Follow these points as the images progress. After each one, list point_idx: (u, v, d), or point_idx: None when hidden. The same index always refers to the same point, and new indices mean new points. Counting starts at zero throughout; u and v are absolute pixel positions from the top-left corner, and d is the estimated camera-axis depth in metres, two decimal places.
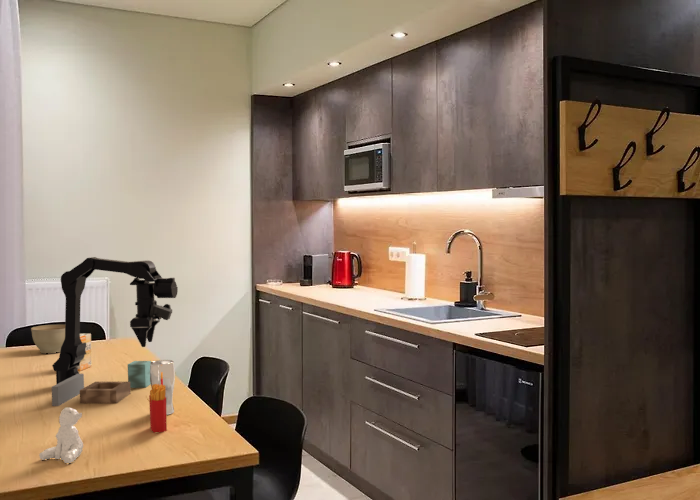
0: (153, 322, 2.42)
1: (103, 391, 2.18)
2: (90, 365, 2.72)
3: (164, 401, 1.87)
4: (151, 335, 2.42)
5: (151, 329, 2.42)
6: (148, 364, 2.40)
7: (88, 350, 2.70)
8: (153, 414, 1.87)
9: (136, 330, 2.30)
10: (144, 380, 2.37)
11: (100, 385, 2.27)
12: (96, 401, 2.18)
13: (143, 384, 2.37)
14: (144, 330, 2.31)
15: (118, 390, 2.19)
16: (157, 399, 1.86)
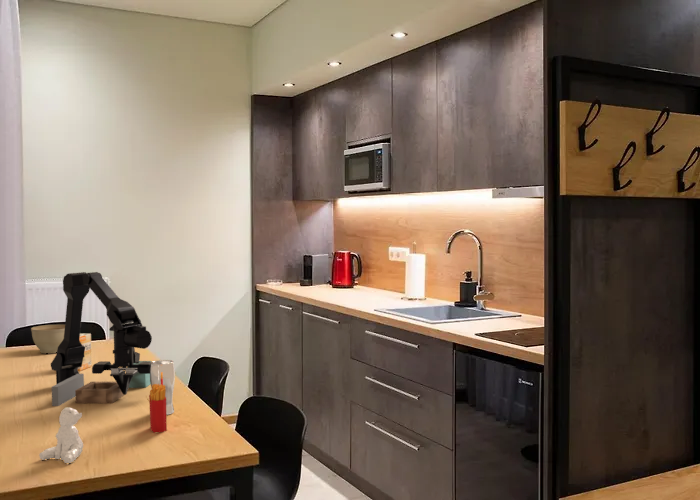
0: (123, 372, 2.24)
1: (99, 391, 2.18)
2: (90, 365, 2.72)
3: (164, 401, 1.87)
4: None
5: None
6: None
7: (88, 350, 2.70)
8: (153, 414, 1.87)
9: (128, 377, 2.21)
10: (144, 380, 2.37)
11: (96, 385, 2.28)
12: (92, 401, 2.18)
13: (143, 384, 2.37)
14: (130, 376, 2.24)
15: (114, 390, 2.19)
16: (157, 399, 1.86)
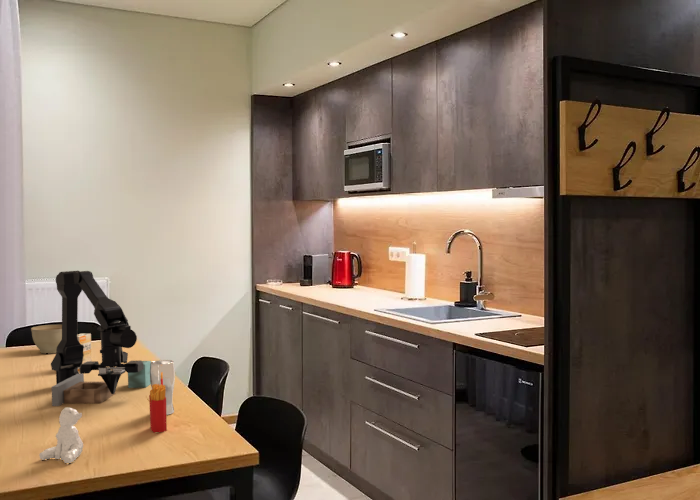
0: (111, 372, 2.24)
1: (87, 391, 2.18)
2: None
3: (164, 401, 1.87)
4: None
5: None
6: (148, 364, 2.40)
7: (88, 350, 2.70)
8: (153, 414, 1.87)
9: (116, 376, 2.21)
10: (144, 380, 2.37)
11: (84, 385, 2.28)
12: (80, 401, 2.18)
13: (143, 384, 2.37)
14: None
15: (102, 390, 2.19)
16: (157, 399, 1.86)
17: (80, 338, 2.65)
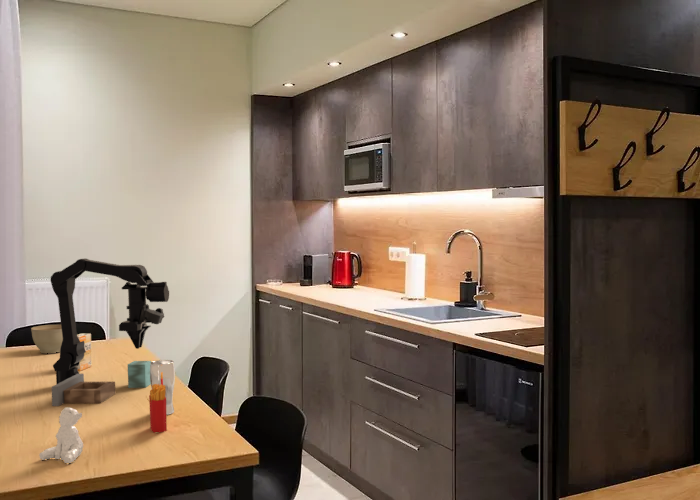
0: (143, 327, 2.41)
1: (87, 391, 2.18)
2: (90, 365, 2.72)
3: (164, 401, 1.87)
4: (141, 340, 2.40)
5: (141, 334, 2.40)
6: (148, 364, 2.40)
7: (88, 350, 2.70)
8: (153, 414, 1.87)
9: (130, 332, 2.36)
10: (144, 380, 2.37)
11: (85, 385, 2.28)
12: (80, 401, 2.18)
13: (143, 384, 2.37)
14: (137, 332, 2.36)
15: (102, 390, 2.19)
16: (157, 399, 1.86)
17: (80, 338, 2.65)
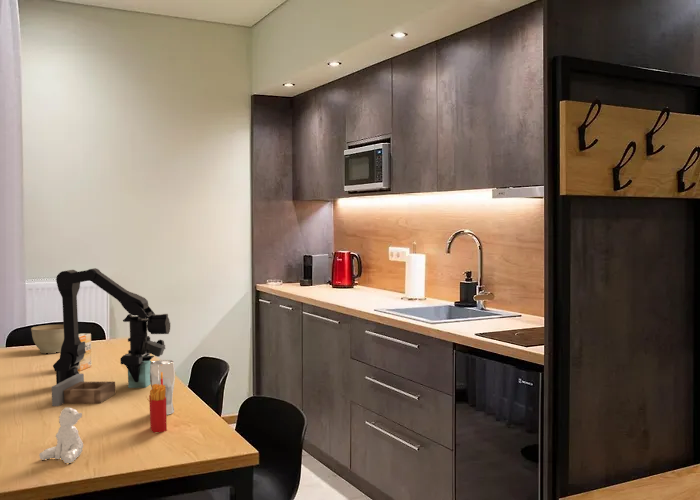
0: (146, 358, 2.43)
1: (87, 391, 2.18)
2: (90, 365, 2.72)
3: (164, 401, 1.87)
4: None
5: None
6: (148, 364, 2.40)
7: (88, 350, 2.70)
8: (153, 414, 1.87)
9: (129, 366, 2.35)
10: (144, 380, 2.37)
11: (85, 385, 2.28)
12: (80, 401, 2.18)
13: (143, 384, 2.37)
14: (136, 366, 2.35)
15: (102, 390, 2.19)
16: (157, 399, 1.86)
17: (80, 338, 2.65)
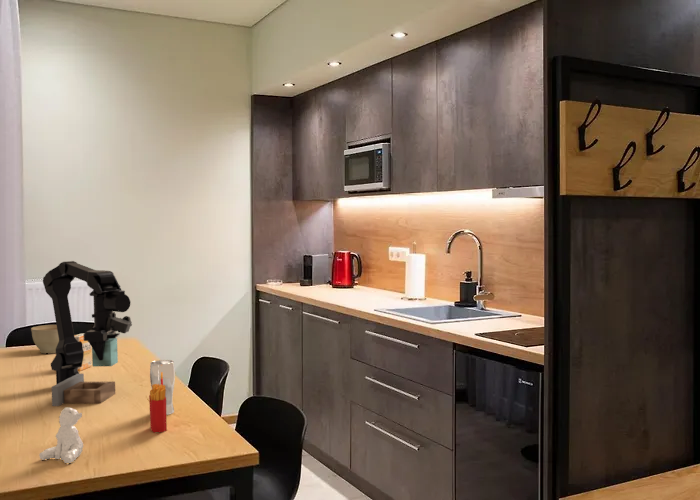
0: (111, 335, 2.31)
1: (87, 391, 2.18)
2: (90, 365, 2.72)
3: (164, 401, 1.87)
4: None
5: None
6: (114, 341, 2.28)
7: (88, 350, 2.70)
8: (153, 414, 1.87)
9: (92, 343, 2.23)
10: (109, 358, 2.25)
11: (85, 385, 2.28)
12: (80, 401, 2.18)
13: (108, 363, 2.25)
14: (101, 343, 2.23)
15: (102, 390, 2.19)
16: (157, 399, 1.86)
17: (80, 338, 2.65)
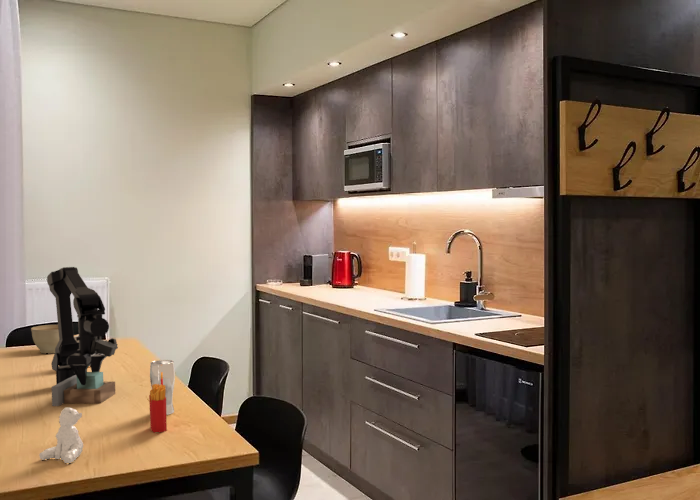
0: (99, 357, 2.28)
1: (87, 391, 2.18)
2: None
3: (164, 401, 1.87)
4: (97, 371, 2.28)
5: (97, 365, 2.28)
6: (99, 375, 2.24)
7: None
8: (153, 414, 1.87)
9: (74, 367, 2.17)
10: None
11: None
12: (80, 401, 2.18)
13: None
14: (83, 367, 2.17)
15: (102, 390, 2.19)
16: (157, 399, 1.86)
17: None
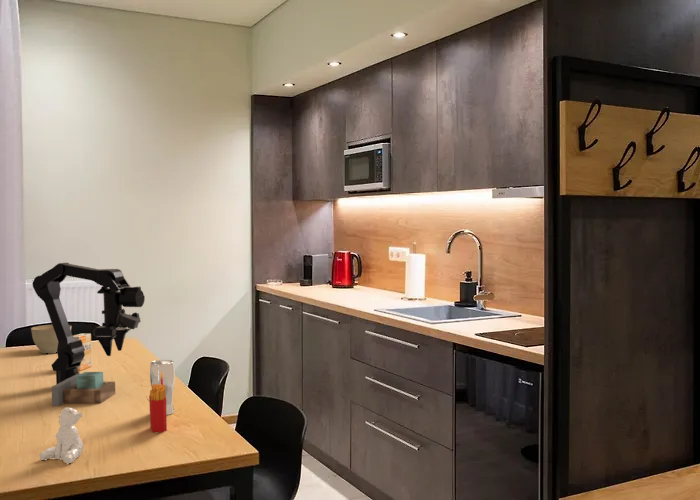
0: (123, 331, 2.41)
1: (87, 391, 2.18)
2: (90, 365, 2.72)
3: (164, 401, 1.87)
4: (120, 344, 2.40)
5: (121, 338, 2.41)
6: (99, 375, 2.24)
7: (88, 350, 2.70)
8: (153, 414, 1.87)
9: (100, 339, 2.29)
10: None
11: None
12: (80, 401, 2.18)
13: None
14: (108, 339, 2.30)
15: (102, 390, 2.19)
16: (157, 399, 1.86)
17: (80, 338, 2.65)
